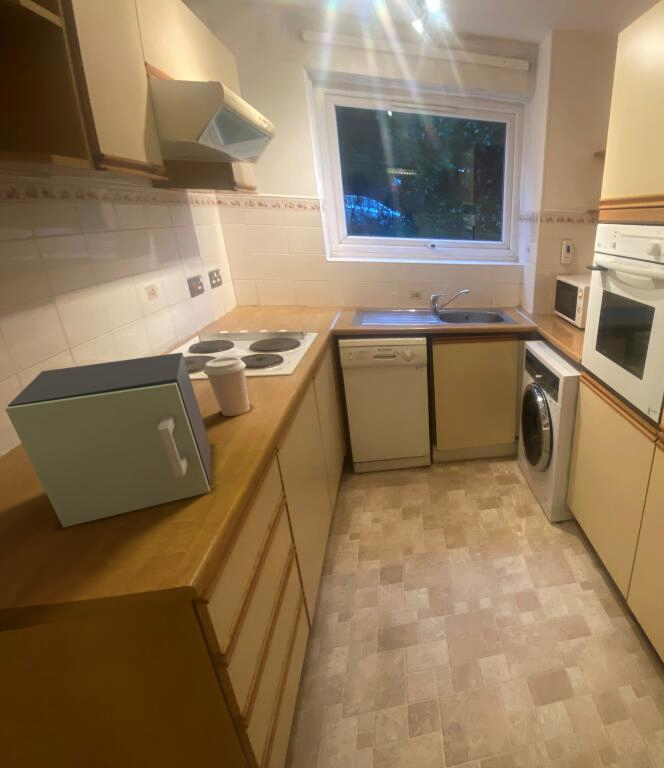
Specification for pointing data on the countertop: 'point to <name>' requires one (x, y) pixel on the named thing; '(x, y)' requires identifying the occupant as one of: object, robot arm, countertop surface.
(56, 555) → the countertop surface
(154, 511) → the countertop surface
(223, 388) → the coffee cup
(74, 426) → the door
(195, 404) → the cupboard
